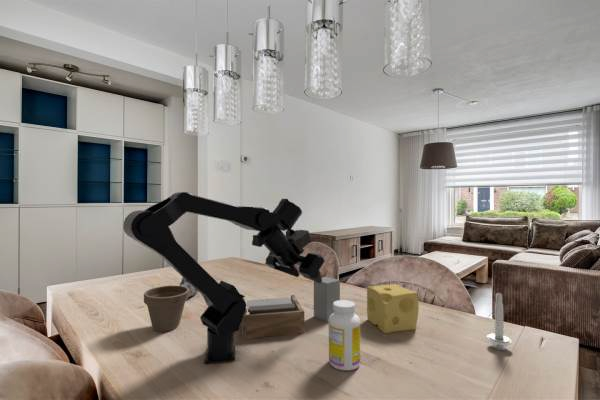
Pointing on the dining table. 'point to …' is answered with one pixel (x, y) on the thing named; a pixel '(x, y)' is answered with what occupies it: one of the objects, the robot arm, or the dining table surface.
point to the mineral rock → (186, 284)
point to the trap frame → (274, 322)
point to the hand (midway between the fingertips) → (309, 278)
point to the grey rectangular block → (325, 297)
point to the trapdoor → (270, 305)
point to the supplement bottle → (344, 336)
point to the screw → (499, 326)
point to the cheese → (392, 308)
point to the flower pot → (166, 306)
